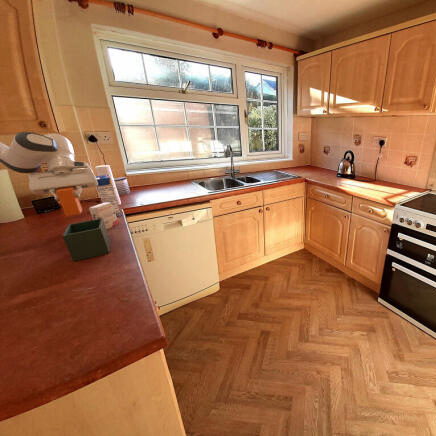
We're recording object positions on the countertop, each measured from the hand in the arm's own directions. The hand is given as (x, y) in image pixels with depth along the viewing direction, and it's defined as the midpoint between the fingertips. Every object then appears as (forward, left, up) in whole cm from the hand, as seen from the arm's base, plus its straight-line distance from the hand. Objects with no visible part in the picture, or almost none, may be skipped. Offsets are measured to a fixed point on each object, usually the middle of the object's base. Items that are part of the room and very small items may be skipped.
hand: (68, 198), depth 95 cm
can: (+12, +95, -22) cm, 98 cm away
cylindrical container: (+8, +66, -22) cm, 70 cm away
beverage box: (+8, +43, -22) cm, 49 cm away
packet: (0, +1, -6) cm, 6 cm away
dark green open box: (+2, -4, -22) cm, 23 cm away
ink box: (+6, +23, -22) cm, 32 cm away
